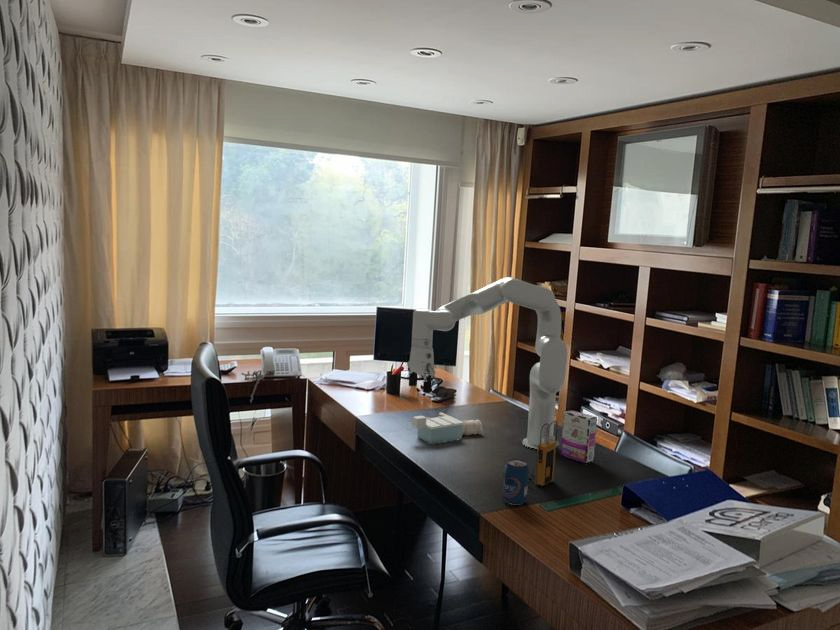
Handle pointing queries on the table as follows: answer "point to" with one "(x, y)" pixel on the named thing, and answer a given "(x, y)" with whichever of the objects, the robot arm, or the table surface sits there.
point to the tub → (440, 434)
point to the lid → (435, 422)
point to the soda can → (515, 481)
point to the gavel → (469, 426)
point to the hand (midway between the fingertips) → (419, 388)
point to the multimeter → (545, 460)
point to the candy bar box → (578, 436)
